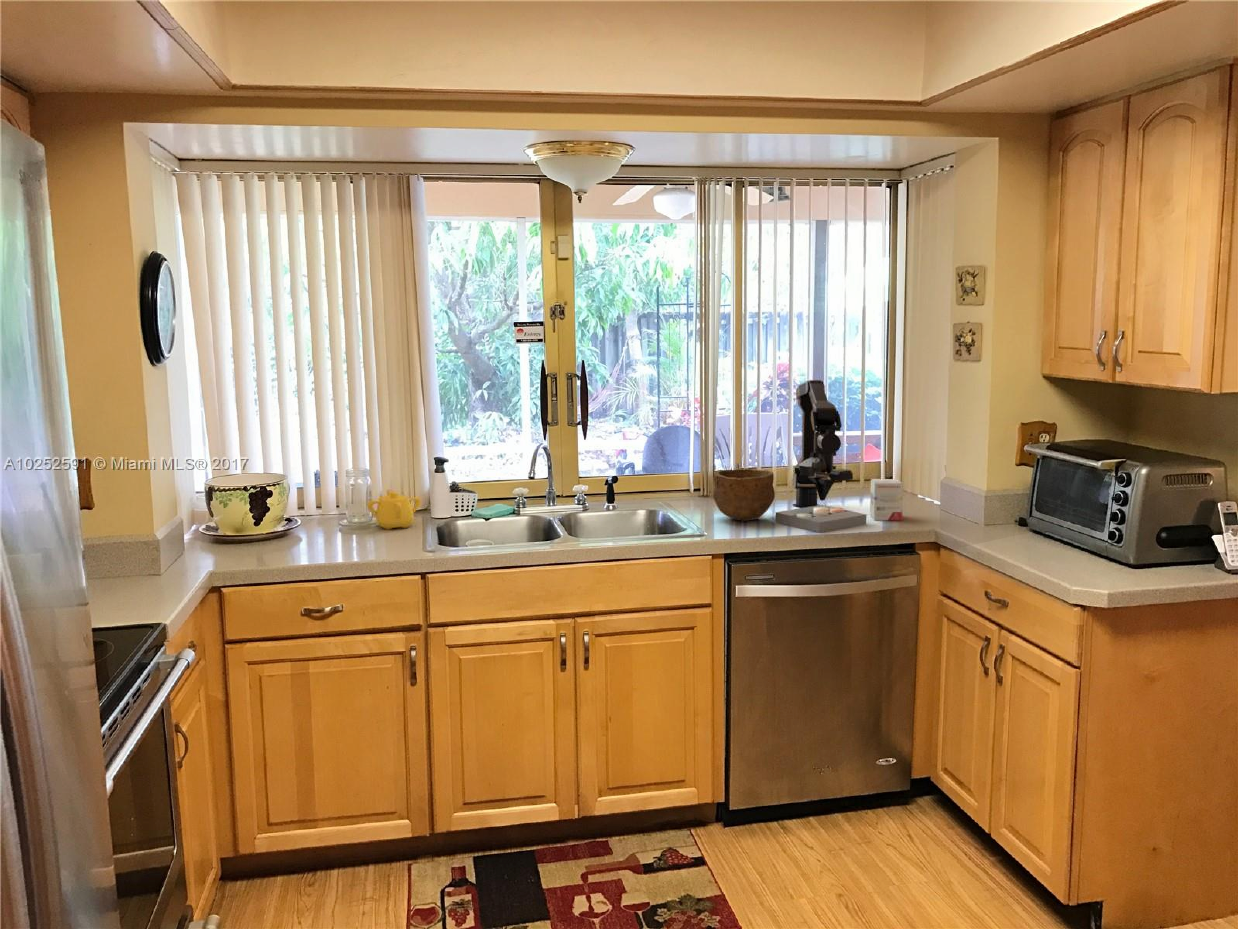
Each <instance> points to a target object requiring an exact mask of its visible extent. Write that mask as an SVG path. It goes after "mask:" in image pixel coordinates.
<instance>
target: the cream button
mask: <svg viewBox="0 0 1238 929" xmlns="http://www.w3.org/2000/svg"><path fill="white" fill-rule="evenodd" d="M813 514H815V515H819V516H823V515H828V508H826V507H814V509H813Z"/></svg>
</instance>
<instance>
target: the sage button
mask: <svg viewBox="0 0 1238 929" xmlns="http://www.w3.org/2000/svg"><path fill="white" fill-rule="evenodd" d="M797 517H799V518H803V519H805V518H811V517H812V515H811V514H806V513H800V514H797Z"/></svg>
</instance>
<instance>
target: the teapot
mask: <svg viewBox="0 0 1238 929" xmlns="http://www.w3.org/2000/svg"><path fill="white" fill-rule="evenodd" d="M412 501H415V504H414V506H413V505H412V504H411V502H412ZM421 503H422V499H421V498H420V497H419V496H418V497H417V496H415V497H410V498H409V497H408V496H406V495H404V494H399V492H398V491H397V492H396V491H394V492H392V491H391V490H390V489H386V495H384V496H380V497H379V500H369V501H367V502H366V506H367V509H368V510H369V511H370V512H371V514H373V515H374V516H375V520H376V522H377V524H378V526H379V527H381V528H385V530H392V529H394V528H401V529H407V528H409V526H410V527H411V526H412V524H413V522H414V516H415V515H414V514H415V512H416V511H417V510H418V508H420V505H421ZM374 504H377V507H376V510H375V509H374V506H373V505H374ZM412 506H413V507H412Z"/></svg>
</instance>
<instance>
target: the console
mask: <svg viewBox="0 0 1238 929" xmlns="http://www.w3.org/2000/svg"><path fill="white" fill-rule="evenodd" d="M814 507H826V508H828V515H823V516H819V515H815V514H813V509H814ZM831 508H836V507H834V506H830V505H826V504H825V505H824V504H818V506H812V507H806V508H802V507H798V508H793V509H787V510H780V511H775V517H774V518H775V521H774V522H775V523H778V524H783V525H786V526H791V527H795V528H798V529H802V530H807V531H811V532H814V531H816V532H815V533H818V532H820V533H823V532H822V531H826V532H829V531H836V530H837V531H838V530H842V529H848V528H852V527H858V526H864V524H865V525H867V513H866V514H865V513H862V512H858V511H857V512H856V511H853V510H848V509H844V510H845V512H841V513H835V512H830V509H831ZM800 513H806V514H811V515H812V517H811V518H805V519H803V518H799V517H797V514H800Z"/></svg>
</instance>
